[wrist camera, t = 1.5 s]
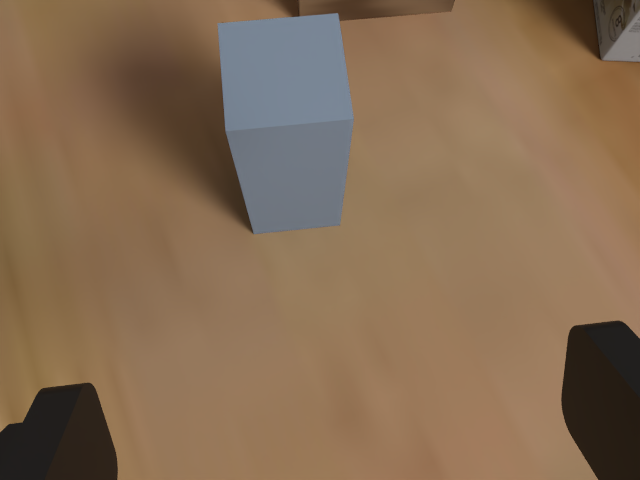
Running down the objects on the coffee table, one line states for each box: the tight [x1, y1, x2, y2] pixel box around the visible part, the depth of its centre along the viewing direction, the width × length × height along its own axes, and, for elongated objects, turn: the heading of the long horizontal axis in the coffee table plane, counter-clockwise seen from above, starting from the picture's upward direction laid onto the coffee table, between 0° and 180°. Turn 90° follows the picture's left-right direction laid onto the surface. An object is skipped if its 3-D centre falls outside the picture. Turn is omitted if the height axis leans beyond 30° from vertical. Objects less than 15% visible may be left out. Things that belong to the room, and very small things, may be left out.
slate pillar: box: [218, 13, 354, 234], centre depth 27 cm, size 4×4×11 cm
